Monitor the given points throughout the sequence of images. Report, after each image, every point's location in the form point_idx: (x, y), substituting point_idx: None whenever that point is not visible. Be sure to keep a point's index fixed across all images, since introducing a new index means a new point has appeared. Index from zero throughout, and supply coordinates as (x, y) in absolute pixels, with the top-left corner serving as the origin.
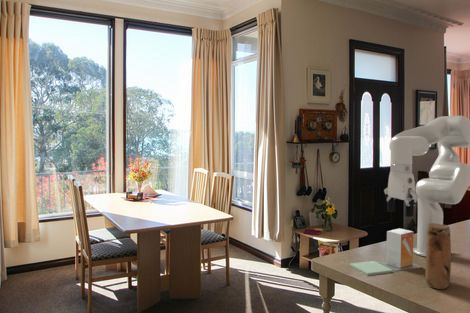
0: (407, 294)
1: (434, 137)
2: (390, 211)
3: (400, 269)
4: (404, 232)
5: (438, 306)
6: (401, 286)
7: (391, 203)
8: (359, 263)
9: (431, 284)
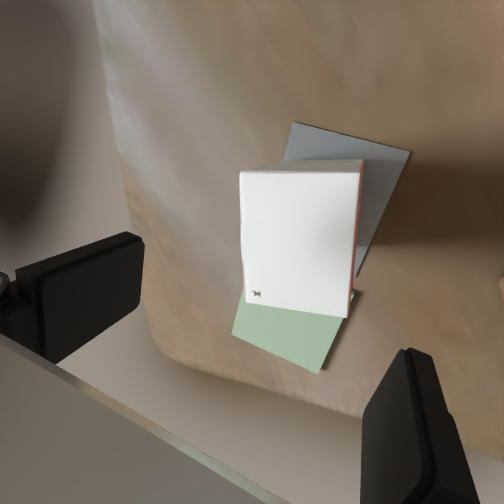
0: (498, 436)
1: None
2: (138, 289)
3: (360, 253)
4: (333, 260)
5: None
6: (448, 390)
7: (64, 328)
8: (245, 313)
9: None
